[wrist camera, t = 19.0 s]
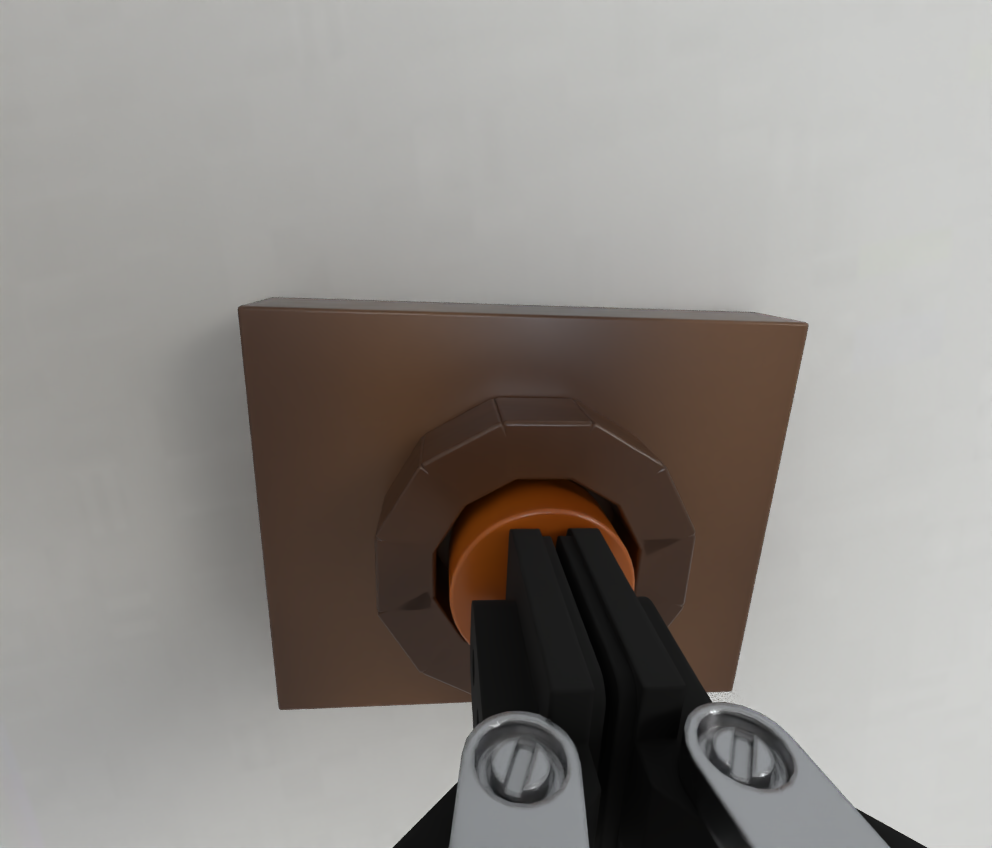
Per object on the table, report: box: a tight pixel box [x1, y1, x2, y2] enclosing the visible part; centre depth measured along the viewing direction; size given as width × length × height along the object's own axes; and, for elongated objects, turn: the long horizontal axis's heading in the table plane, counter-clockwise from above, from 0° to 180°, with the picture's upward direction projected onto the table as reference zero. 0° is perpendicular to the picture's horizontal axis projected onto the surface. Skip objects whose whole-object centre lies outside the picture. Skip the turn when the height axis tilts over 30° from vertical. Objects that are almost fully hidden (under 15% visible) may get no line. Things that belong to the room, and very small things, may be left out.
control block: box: [238, 297, 808, 710], centre depth 13 cm, size 12×10×4 cm
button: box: [448, 479, 635, 645], centre depth 11 cm, size 4×4×2 cm
